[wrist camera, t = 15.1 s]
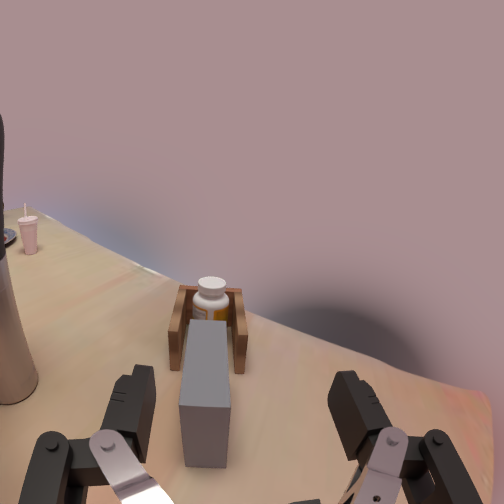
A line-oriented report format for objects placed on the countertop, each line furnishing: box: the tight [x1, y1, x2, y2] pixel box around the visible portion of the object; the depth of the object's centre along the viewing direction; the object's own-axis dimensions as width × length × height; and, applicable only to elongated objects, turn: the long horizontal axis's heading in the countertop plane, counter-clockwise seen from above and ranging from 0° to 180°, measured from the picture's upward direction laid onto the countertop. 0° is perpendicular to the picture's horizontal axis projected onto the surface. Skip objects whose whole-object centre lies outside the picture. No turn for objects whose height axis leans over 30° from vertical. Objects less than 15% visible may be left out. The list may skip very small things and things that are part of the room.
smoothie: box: [18, 203, 38, 255], centre depth 67 cm, size 6×6×14 cm
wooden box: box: [168, 285, 248, 374], centre depth 44 cm, size 13×10×6 cm
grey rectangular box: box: [179, 319, 231, 468], centre depth 29 cm, size 13×4×10 cm, turn 5°
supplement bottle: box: [192, 277, 229, 329], centre depth 45 cm, size 5×5×10 cm
